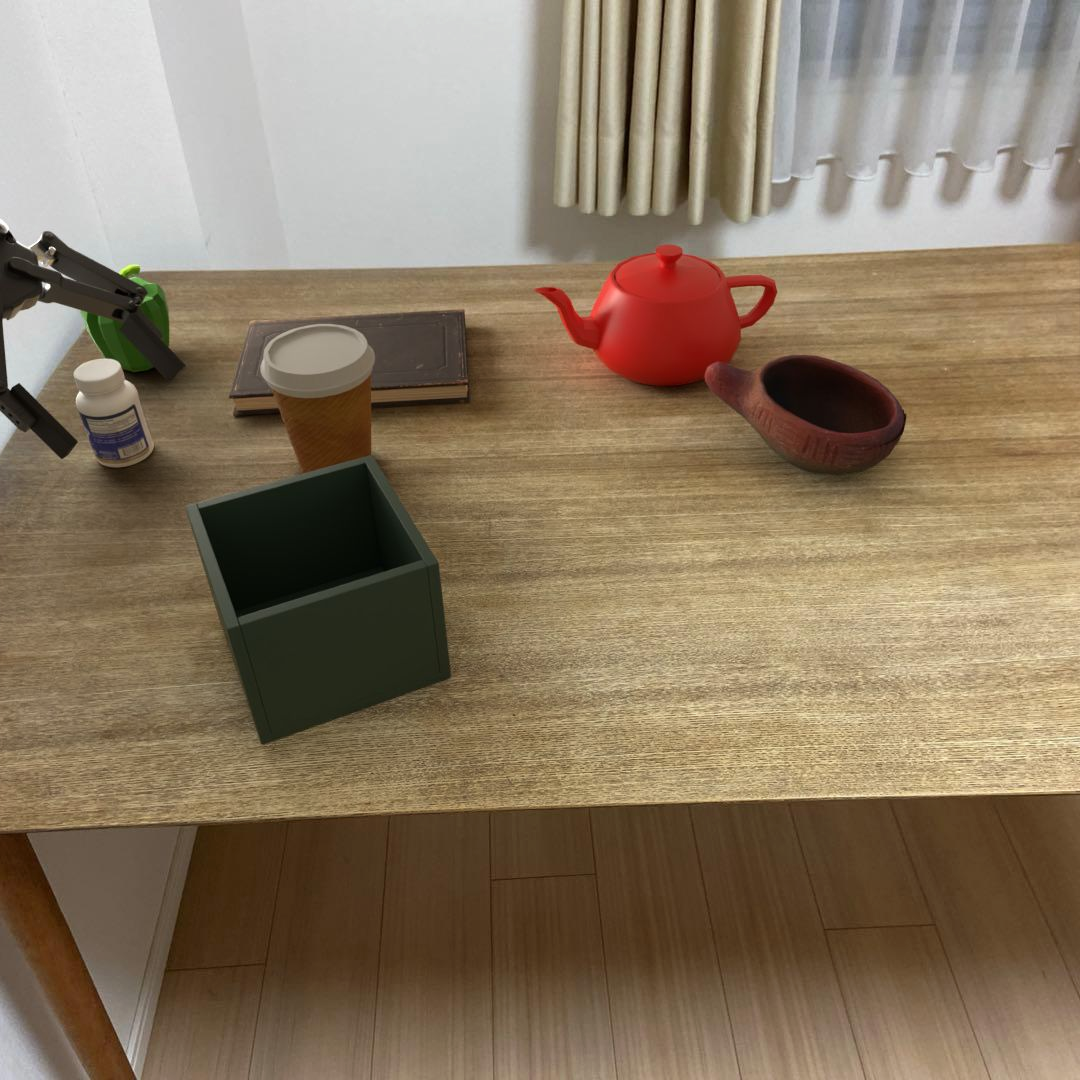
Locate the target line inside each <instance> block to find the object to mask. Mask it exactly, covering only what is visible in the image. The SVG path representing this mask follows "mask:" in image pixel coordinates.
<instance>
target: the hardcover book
mask: <svg viewBox="0 0 1080 1080" xmlns="http://www.w3.org/2000/svg"><path fill="white" fill-rule="evenodd" d="M465 312H466V311H465V309H463V308H461V309H460V308H459V309H443V310H442V309H441V310H425V311H424V310H423V311H422V310H421V311H408V312H407V311H405V312H385V313H370V314H369V313H366V314H365V313H364V314H347V315H332V316H331V315H330V316H312V317H294V318H292V317H291V318H275V319H257V320H255V319H254V320H250V322H249V326H248V329H247V332H246V336H245V338H244V344H243V346H242V350H241V353H240V355H239V359H238V363H237V366H236V371H235V373H234V377H233V381H232V384H231V388H230V391H229V394H228V399H229V400H233V402H234V407H233V410H232V411H233V412H232V416H233V417H237V416H255V415H270V414H271V415H272V414H281V413H280V410H279V408H278V405H277V403H276V399H275V397H274V394H273V392H272V388H271V387H270V386H269V385H268V383H267V382H266V381H265V379H264V378H263V376H262V374H261V363H262V360H263V355H264V349H265V348H266V346H267V345H268V343H269V342H270V341H271V340H273V339H274V338H275V337H277V336H278V335H280V334H282V333H284V332H287V331H289V330H292V329H295V328H299V327H304V326H308V325H316V324H335V325H342V326H347V327H350V328H353V329H355V330H357V331H358V332H360V333H362V334H363V335H364V337H365V338H366V340H367V342H368V345H369V346H370V347H371V348H372V349H373V351H374V354H375V363H374V365H373V369H372V372H371V409H373V408H374V409H375V408H390V407H391V408H392V407H409V406H424V405H441V404H458V403H459V404H460V403H470V400H471V399H470V384H469V381H470V380H469V363H468V362H469V361H468V345H467V344H468V343H467V326H466V313H465Z"/></svg>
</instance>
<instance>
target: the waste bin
mask: <svg viewBox="0 0 1080 1080" xmlns="http://www.w3.org/2000/svg"><path fill="white" fill-rule="evenodd" d="M184 508H185V512H186V515H187V518H188V522H189V524H190V528H191V531H192V534H193V538H194V541H195V545H196V547H197V551H198V554H199V558H200V560H201V561H200V562H201V565H202V568H203V570H204V574H205V577H206V580H207V583H208V586H209V591H210V593H211V596H212V600H213V603H214V606H215V609H216V613H217V616H218V619H219V622H220V626H221V628H222V631H223V634H224V638H225V640H226V643H227V647H228V649H229V652H230V655H231V658H232V661H233V664H234V667H235V671H236V673H237V676H238V679H239V682H240V685H241V688H242V691H243V694H244V697H245V700H246V702H247V706H248V709H249V712H250V715H251V718H252V721H253V724H254V727H255V731H256V734H257V735H258V736H257V737H258V739H259V741H260V745H266V744H268V743H271V742H275V741H276V740H277V741H278V740H279V739H282V738H284V737H287V736H291V735H293V734H296V733H300V732H302V731H305V730H308V729H310V728H313V727H315V726H318V725H321V724H324V723H327V722H330V721H332V720H337V719H338V718H342V717H344V716H347V715H349V714H352V713H356V712H358V711H361V710H364V709H367V708H369V707H371V706H375V705H378V704H380V703H383V702H386V701H389V700H392V699H394V698H397V697H400V696H404V695H406V694H408V693H411V692H414V691H417V690H419V689H423V688H426V687H429V686H431V685H434V684H437V683H439V682H443V681H445V680H448V679H450V678H452V673H451V664H450V663H451V662H450V654H449V645H448V644H449V643H448V635H447V625H446V616H445V609H444V599H443V589H442V579H441V571H440V563H439V561H438V559H437V558H436V555H434V553H433V551H432V549H431V548H430V546H429V544H428V543H427V542H426V540H425V538H424V536H423V535H422V533H421V532H420V530H419V529H418V527H417V525H416V523H415V522H414V520H413V519H412V517H411V516H410V514H409V512H408V511H407V509H406V507H405V506H404V504H403V502H402V501H401V499H400V498H399V496H398V494H397V493H396V491H395V490H394V488H393V486H392V484H391V483H390V481H389V480H388V478H387V476H386V475H385V473H384V471H383V470H382V468H381V467H380V465H379V464H378V462H377V460H376V458H375V457H374V455H373V454H371V455H369V456H366V457H362V458H358V459H355V460H351V461H347V462H344V463H340V464H336V465H333V466H329V467H325V468H322V469H318V470H314V471H311V472H307V473H303V474H302V473H300V474H296V475H292V476H289V477H286V478H282V479H278V480H274V481H271V482H268V483H264V484H259V485H256V486H252V487H249V488H245V489H241V490H238V491H234V492H230V493H227V494H222V495H219V496H215V497H212V498H208V499H205V500H200V501H198V502H195V503H189V504H187V505H185V506H184Z"/></svg>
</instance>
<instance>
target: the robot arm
mask: <svg viewBox="0 0 1080 1080" xmlns="http://www.w3.org/2000/svg"><path fill="white" fill-rule="evenodd" d="M39 263H41V265H42V266H40V264H39ZM49 266H50V267H51V268H52V269H51V268H48V267H49ZM63 275H64V276H65V277H64V276H63ZM43 283H44V284H46V285H45V286H43ZM146 295H147V290H146V288H145V287H143V286H142V285H140V284H138V283H136V282H134V281H132V280H130V278H129V277H128V278H126V277H125V276H123V275H121V274H119V272H117V271H115V270H113V269H112V268H110V267H107V266H106V265H104V264H102V263H100V262H98V261H96V260H94V259H92V258H91V257H89V256H87V255H85V254H83V253H81V252H79V251H78V250H75V249H73V248H71V247H70V246H68V244H66V243H65V242H64V241H63V240H62V239H61V238H60V237H58V236H57V235H56V233H54V232H52V231H51V230H50V231H49V230H45V231H43V232H42V233H41V235H40V237H39V239H38V240H37V241H36V242H34V243H33V244H31V245H30V246H26V245H24V244H22V243H21V242H19V241H18V240H17V239H16V238H15V237H14V235H13V234H12V231H11V230H10V228H9V226H8V225H7V224H6V223H5V221H3V219H1V218H0V412H1V413H2V414H3V415H4V416H5V417H6V419H8V421H10V422H11V423H12V425H14V426H15V427H16V428H17V429H18V430H20V431H21V432H24V433H27V432H28V431H29V430H31V431H32V432H33V433H34V434H35V435H36V436H37V437H38V438H39V439H40V440H41V441H42V442H43V443H44V444H45V445H46V446H47V447H48V448H49V449H50V450H51V451H52V452H53V453H54V454H55V455H56V456H57V457H59V458H60V460H64V459H65V458H67V457H68V456H69V455H70V454H71V452H72V451H73V449H74V448H75V446H77V444H78V443H79V441H78V440H77V439H76V438H75V437H74V436H73V434H71V433H70V431H68V430H67V429H66V428H65V427H64V426H63V425H62V424H61V423H60V422H59V421H58V420H57V419H56V418H55V417H54V416H53V415H52V414H51V413H50V412H49V410H47V409H46V408H45V407H44V405H42V404H41V403H40V402H39V401H38V400H37V399H36V398H35V397H34V396H33V394H31V393H30V392H29V391H28V390H27V389H26V388H25V387H24V386H23V385H22V384H21V383H20V382H18V383H16V384H15V385H12V386H11V388H9V381H8V371H7V369H8V368H7V358H6V347H5V335H4V324H3V323H4V322H3V320H6V321H9V320H11V319H14V318H15V317H16V316H17V315H18V314H19V313H20V312H21V311H27V310H29V309H31V308H33V307H35V306H36V305H37V303H38V302H41V303H42V304H43V303H44V304H53V303H54V304H59V305H61V306H65V307H68V308H72V309H75V310H78V311H81V310H82V311H85V312H88V313H92V314H95V315H98V316H102V317H105V318H109V319H112V320H115V321H119V322H122V323H123V325H122V326H121V328H120V329H119V331H120V332H121V333H122V334H123V335H124V336H125V337H126V338H127V339H128V340H129V341H130V342H131V343H132V344H133V345H134V346H135V348H136V349H137V350H138V351H139V352H140V353H141V354H142V355H143V356H144V357H145V358H146V359H147V360H148V361H149V362H150V363H151V364H152V365H153V366H154V369H156V371H157V372H158V373H159V374H160V375H162V377H163V378H164V379H165V380H166V381H167V382H168V384H171V383H172V382H174V381H175V380H176V379H177V378H178V376H179V375H180V374H181V373H182V371H184V369H185V368H186V366H187V365H186V364H185V363H184V362H183V360H181V359H180V357H178V356H177V355H176V354H175V353H174V351H173V350H171V348H170V346H169V347H168V346H167V345H166V344H165V343H164V342H163V341H162V339H163V337H164V336H163V334H162V332H161V331H160V330H159V329H158V328H157V327H156V326H155V325H154V324H153V322H152V321H151V320H150V319H149V318H148V317H147V316H146V315H145V314H144V313H143V312H142V310H141V308H140V306H141V304H142V302H143V300H144V298H145V297H146Z"/></svg>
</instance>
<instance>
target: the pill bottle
mask: <svg viewBox="0 0 1080 1080" xmlns="http://www.w3.org/2000/svg"><path fill="white" fill-rule="evenodd" d="M73 378H74V382H75V385H76V387H77V390H78V391H79V392H78V393H77V395H76V398H75V406H76V409H77V412H78V415H79V417H80V420H81V423H82V425H83V428H84V430H85V433H86V436H87V439H88V441H89V444H90V446H91V449H92V452H93V455H94V457H95V459H96V461H97V462H98V463H99V464H100V465H102V466H105V467H108V468H125V467H126V468H127V467H130V466H133V465H136V464H138V463H140V462H142V461H144V460H145V459H146V458H148V457H149V456H150V455H151V454H152V452H153V451H154V448H155V443H154V439H153V435H152V432H151V429H150V426H149V423H148V420H147V417H146V414H145V410H144V407H143V405H142V402H141V398H140V395H139V392H138V390H137V387H136V386H135V385H134V384H133V383H132V382H130V381H128V380H126V377H125V373H124V369H123V368H122V367H121V365H120V363H119V362H118V361H116V360H113V359H105V358H97V359H92V360H89V361H86V362H83V363H82V364H80V365H79V366H77V367H76V368H75V369H74V371H73Z"/></svg>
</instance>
